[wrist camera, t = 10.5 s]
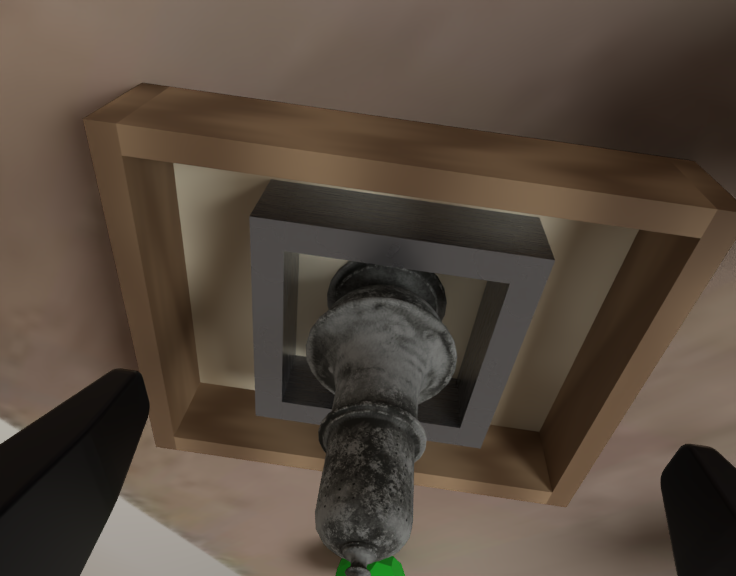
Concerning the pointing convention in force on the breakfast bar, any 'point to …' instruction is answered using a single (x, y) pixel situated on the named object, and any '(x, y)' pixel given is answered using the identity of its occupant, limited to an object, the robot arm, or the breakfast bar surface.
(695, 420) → the breakfast bar surface
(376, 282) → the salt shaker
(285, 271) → the inlet collar
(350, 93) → the breakfast bar surface
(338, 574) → the polyhedron
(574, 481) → the walled box
